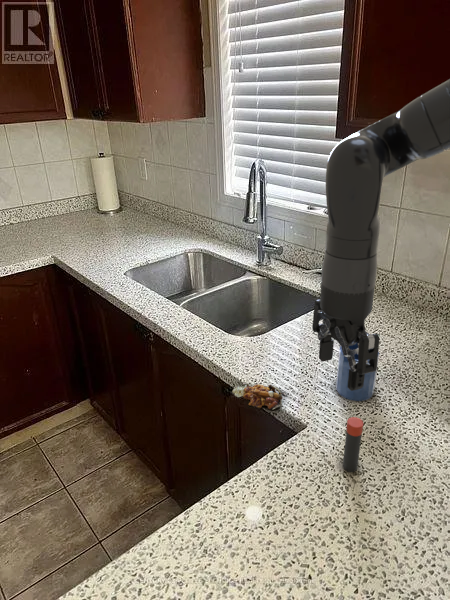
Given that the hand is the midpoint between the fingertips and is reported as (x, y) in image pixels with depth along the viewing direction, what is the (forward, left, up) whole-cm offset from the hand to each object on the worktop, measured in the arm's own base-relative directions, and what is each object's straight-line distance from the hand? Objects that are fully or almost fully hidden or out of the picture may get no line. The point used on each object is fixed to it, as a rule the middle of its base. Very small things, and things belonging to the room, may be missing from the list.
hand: (339, 373), depth 71 cm
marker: (-1, -4, -22) cm, 22 cm away
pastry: (+25, -4, -22) cm, 33 cm away
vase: (+13, -23, -22) cm, 34 cm away
